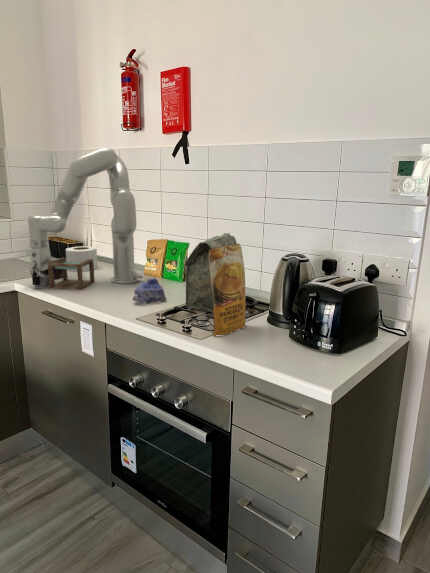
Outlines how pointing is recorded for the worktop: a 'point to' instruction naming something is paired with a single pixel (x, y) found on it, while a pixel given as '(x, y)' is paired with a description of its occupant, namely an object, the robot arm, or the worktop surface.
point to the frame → (67, 283)
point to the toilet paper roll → (82, 256)
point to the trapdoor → (69, 267)
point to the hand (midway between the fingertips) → (42, 282)
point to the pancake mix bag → (227, 288)
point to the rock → (55, 271)
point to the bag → (202, 272)
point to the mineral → (149, 292)
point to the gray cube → (43, 281)
